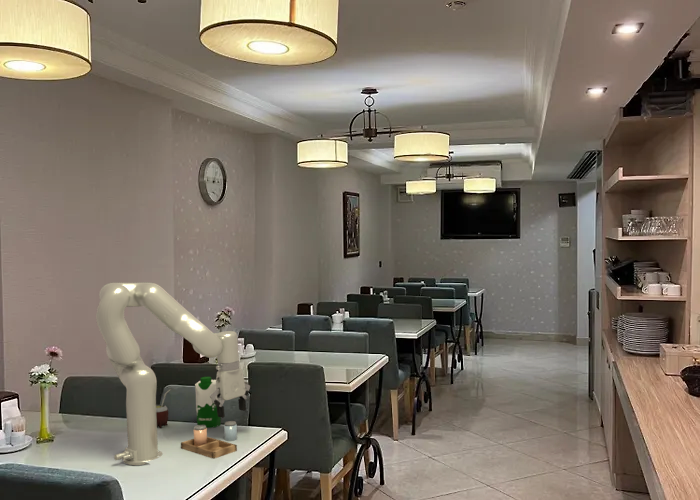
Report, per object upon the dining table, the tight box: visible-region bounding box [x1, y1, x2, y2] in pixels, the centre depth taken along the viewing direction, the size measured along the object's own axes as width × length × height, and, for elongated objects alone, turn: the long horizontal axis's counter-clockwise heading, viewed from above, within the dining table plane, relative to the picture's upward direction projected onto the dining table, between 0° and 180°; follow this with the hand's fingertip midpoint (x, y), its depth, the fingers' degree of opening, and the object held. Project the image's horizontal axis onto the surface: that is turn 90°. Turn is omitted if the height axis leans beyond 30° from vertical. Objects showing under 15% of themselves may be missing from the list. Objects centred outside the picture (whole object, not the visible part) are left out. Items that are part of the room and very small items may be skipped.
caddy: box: [180, 436, 238, 459], centre depth 225 cm, size 10×18×3 cm, turn 49°
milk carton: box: [194, 376, 222, 429], centre depth 255 cm, size 9×9×20 cm
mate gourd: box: [156, 388, 172, 430], centre depth 260 cm, size 8×8×15 cm
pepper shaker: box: [193, 424, 208, 446], centre depth 228 cm, size 4×4×7 cm
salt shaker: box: [223, 420, 238, 442], centre depth 236 cm, size 4×4×7 cm
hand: (232, 413), depth 236 cm, fingers open, 9 cm apart
